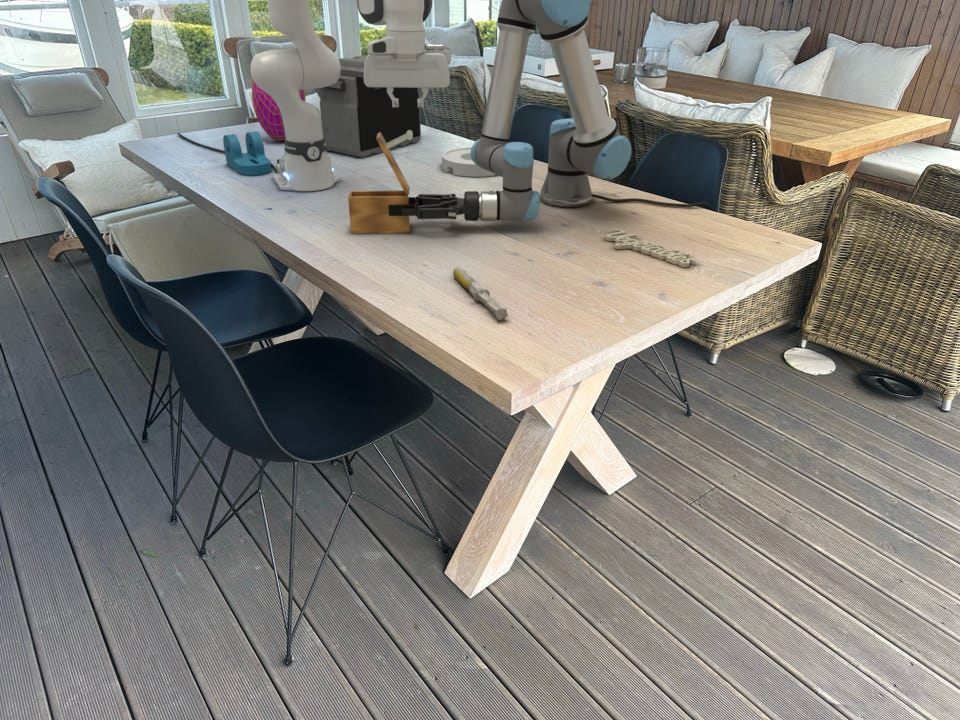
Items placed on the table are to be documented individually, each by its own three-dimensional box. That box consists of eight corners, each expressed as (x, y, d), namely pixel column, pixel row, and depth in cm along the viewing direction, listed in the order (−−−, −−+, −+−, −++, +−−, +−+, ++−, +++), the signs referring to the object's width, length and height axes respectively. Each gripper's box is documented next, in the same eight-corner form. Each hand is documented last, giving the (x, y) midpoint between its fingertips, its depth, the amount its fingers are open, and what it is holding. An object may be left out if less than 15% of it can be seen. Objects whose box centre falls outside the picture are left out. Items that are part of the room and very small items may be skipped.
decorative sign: (591, 236, 174) (616, 227, 180) (591, 240, 174) (616, 231, 180) (679, 267, 157) (703, 256, 163) (678, 271, 158) (703, 260, 163)
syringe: (449, 274, 155) (449, 263, 153) (465, 272, 156) (464, 260, 154) (490, 323, 135) (491, 310, 133) (508, 319, 136) (508, 307, 134)
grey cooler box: (383, 133, 276) (378, 52, 261) (425, 141, 265) (422, 56, 250) (314, 150, 251) (304, 61, 235) (358, 160, 240) (350, 67, 224)
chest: (351, 233, 177) (347, 197, 172) (352, 226, 182) (349, 190, 177) (409, 232, 178) (408, 196, 173) (409, 225, 183) (408, 190, 178)
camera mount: (227, 164, 233) (221, 132, 227) (257, 160, 238) (252, 129, 233) (244, 176, 220) (239, 143, 215) (276, 172, 225) (271, 139, 220)
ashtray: (444, 158, 243) (444, 146, 241) (509, 159, 243) (510, 147, 241) (439, 176, 224) (438, 163, 222) (510, 177, 223) (510, 165, 221)
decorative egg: (293, 132, 276) (283, 50, 261) (319, 140, 264) (310, 56, 249) (249, 139, 265) (236, 54, 250) (273, 148, 253) (261, 60, 238)
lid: (376, 138, 165) (406, 123, 164) (377, 133, 170) (406, 118, 169) (406, 195, 173) (435, 181, 172) (406, 189, 178) (434, 175, 177)
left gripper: (450, 42, 161) (451, 104, 168) (363, 42, 160) (367, 104, 167) (451, 46, 156) (451, 109, 163) (360, 45, 155) (364, 109, 162)
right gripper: (478, 181, 184) (391, 181, 183) (481, 203, 168) (386, 203, 167) (477, 208, 188) (392, 209, 187) (481, 232, 172) (388, 232, 171)
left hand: (408, 107), depth 165 cm, fingers open, 5 cm apart
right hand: (390, 206), depth 177 cm, fingers closed on chest, 5 cm apart
